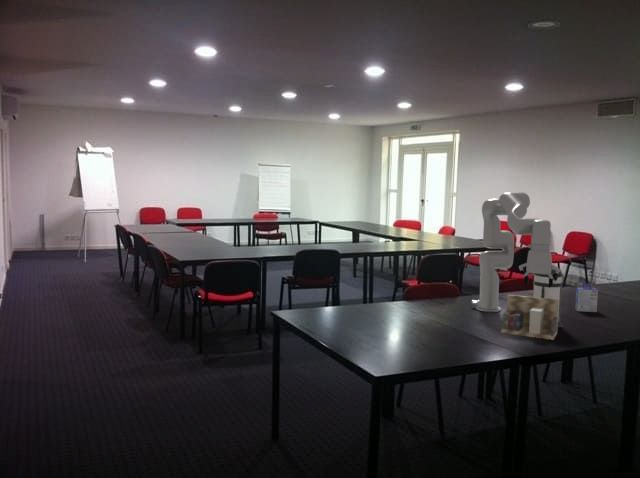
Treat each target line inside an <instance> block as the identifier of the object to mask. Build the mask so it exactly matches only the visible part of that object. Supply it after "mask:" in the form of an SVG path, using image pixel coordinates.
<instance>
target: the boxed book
mask: <svg viewBox="0 0 640 478" xmlns="http://www.w3.org/2000/svg"><path fill="white" fill-rule="evenodd" d="M543 317H544V308H539V307H533V308H532V309H531V310H530V323H529V332H530V333H537V334H540V333H541V332H542V330H543Z"/></svg>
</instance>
